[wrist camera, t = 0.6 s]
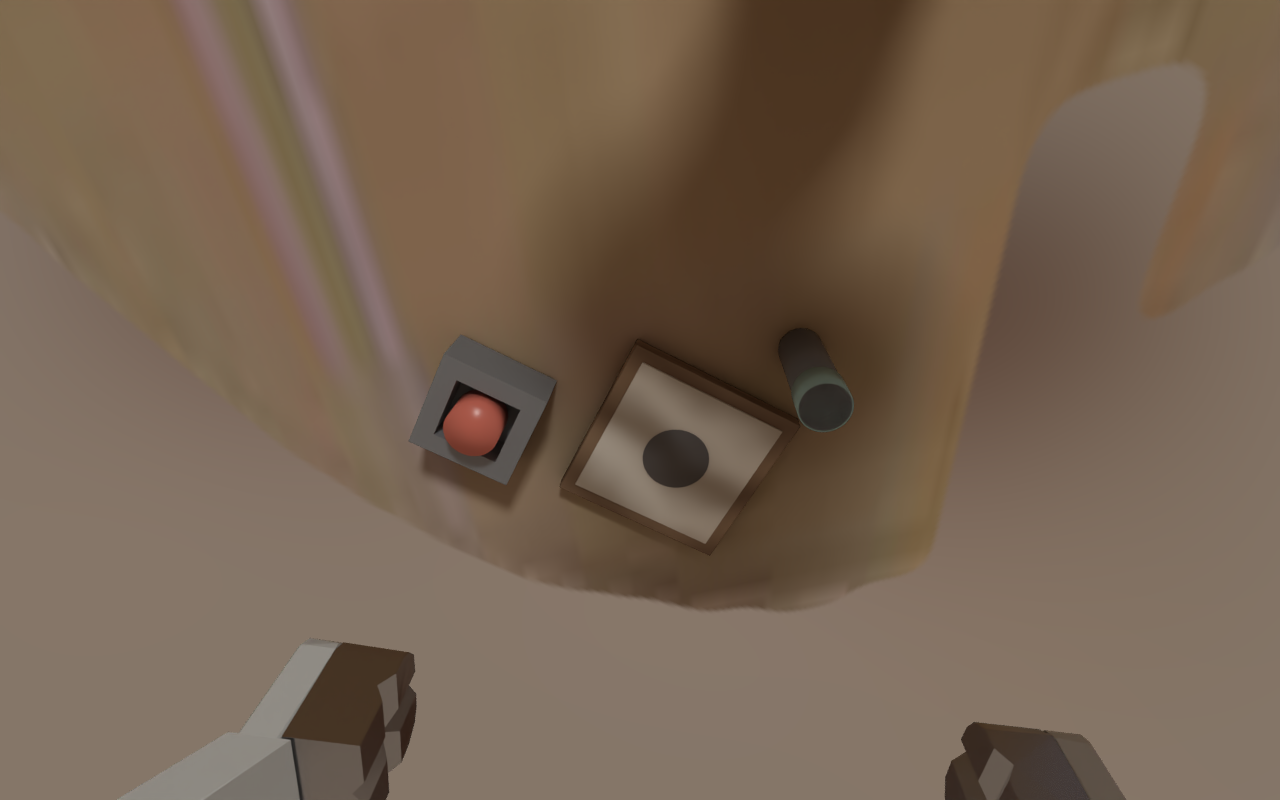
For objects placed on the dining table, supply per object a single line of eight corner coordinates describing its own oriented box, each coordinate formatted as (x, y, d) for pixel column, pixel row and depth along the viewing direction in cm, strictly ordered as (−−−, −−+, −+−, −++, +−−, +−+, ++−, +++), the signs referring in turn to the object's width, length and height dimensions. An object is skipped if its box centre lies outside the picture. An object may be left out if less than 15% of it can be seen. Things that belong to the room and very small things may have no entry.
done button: (466, 380, 50) (454, 397, 48) (516, 403, 51) (506, 421, 48) (448, 422, 52) (435, 441, 49) (496, 445, 52) (486, 464, 50)
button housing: (461, 334, 51) (443, 353, 48) (556, 380, 53) (547, 402, 49) (426, 417, 55) (408, 441, 51) (517, 459, 56) (506, 485, 52)
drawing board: (637, 339, 51) (636, 346, 49) (797, 419, 53) (800, 427, 51) (561, 479, 56) (558, 488, 55) (709, 546, 58) (709, 557, 57)
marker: (792, 319, 49) (817, 372, 40) (832, 340, 50) (865, 397, 41) (768, 357, 51) (786, 417, 42) (807, 377, 51) (833, 440, 42)
